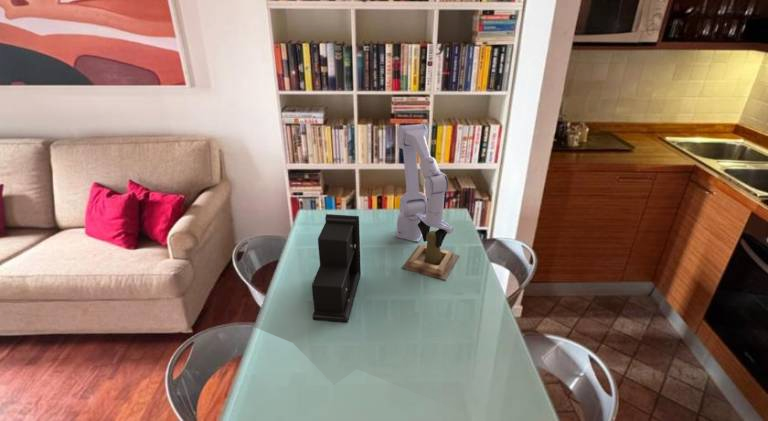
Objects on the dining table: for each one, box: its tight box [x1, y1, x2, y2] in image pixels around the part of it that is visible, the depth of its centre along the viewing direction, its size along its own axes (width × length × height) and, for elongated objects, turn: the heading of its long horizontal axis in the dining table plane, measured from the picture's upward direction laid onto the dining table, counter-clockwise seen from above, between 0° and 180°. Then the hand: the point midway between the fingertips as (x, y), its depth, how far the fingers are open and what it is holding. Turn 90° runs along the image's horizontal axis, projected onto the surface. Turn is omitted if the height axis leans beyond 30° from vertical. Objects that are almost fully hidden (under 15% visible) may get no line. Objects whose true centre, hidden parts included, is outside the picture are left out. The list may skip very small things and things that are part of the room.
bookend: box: [311, 213, 362, 324], centre depth 124 cm, size 23×11×24 cm, turn 173°
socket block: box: [401, 243, 460, 281], centre depth 146 cm, size 16×16×2 cm
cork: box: [425, 230, 442, 264], centre depth 144 cm, size 6×6×11 cm
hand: (432, 243), depth 143 cm, fingers closed on cork, 5 cm apart
